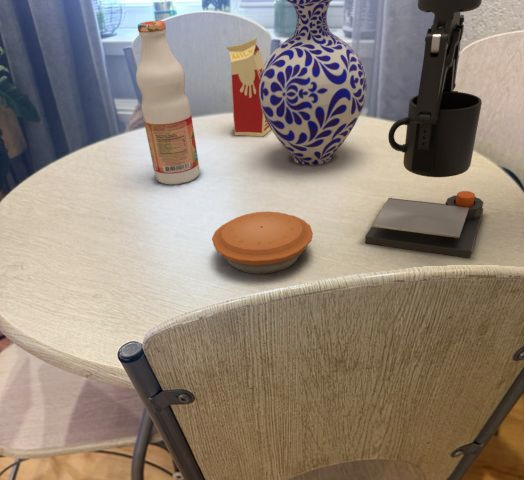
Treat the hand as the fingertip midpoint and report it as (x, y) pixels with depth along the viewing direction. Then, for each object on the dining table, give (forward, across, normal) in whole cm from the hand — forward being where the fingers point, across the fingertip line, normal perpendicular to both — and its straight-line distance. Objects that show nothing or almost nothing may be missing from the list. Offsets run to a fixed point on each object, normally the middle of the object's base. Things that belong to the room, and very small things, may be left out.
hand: (428, 157), depth 78 cm
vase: (+13, -28, -28) cm, 42 cm away
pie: (+13, +14, -21) cm, 28 cm away
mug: (+1, 0, 0) cm, 1 cm away
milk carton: (+13, -42, -49) cm, 66 cm away
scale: (+13, -2, +1) cm, 13 cm away
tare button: (+10, -8, +6) cm, 14 cm away
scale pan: (+10, 0, 0) cm, 10 cm away
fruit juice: (+13, -12, -52) cm, 55 cm away
